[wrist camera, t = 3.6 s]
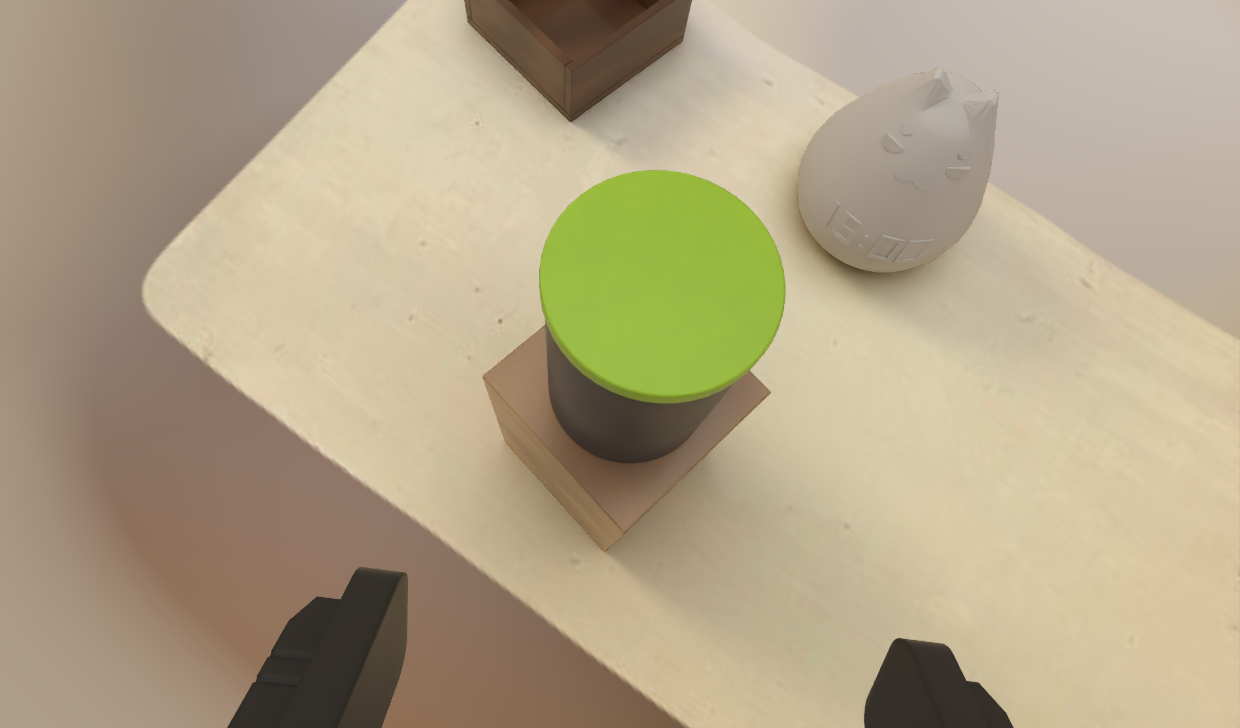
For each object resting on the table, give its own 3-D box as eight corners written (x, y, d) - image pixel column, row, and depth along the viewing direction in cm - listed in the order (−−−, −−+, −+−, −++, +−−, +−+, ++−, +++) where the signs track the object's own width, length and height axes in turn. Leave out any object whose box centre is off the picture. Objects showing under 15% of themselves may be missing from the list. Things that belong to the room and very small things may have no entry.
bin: (467, 21, 47) (457, -37, 43) (581, -52, 50) (583, -114, 45) (570, 122, 45) (571, 71, 41) (683, 40, 48) (695, -15, 43)
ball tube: (511, 378, 27) (486, 265, 18) (631, 277, 29) (666, 127, 20) (625, 501, 26) (662, 450, 17) (743, 390, 28) (836, 287, 19)
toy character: (758, 247, 43) (829, 125, 32) (815, 120, 47) (897, -33, 35) (915, 317, 43) (1044, 218, 31) (961, 183, 46) (1093, 49, 35)
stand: (504, 440, 38) (481, 376, 27) (611, 348, 41) (632, 253, 29) (604, 552, 37) (624, 533, 26) (710, 450, 39) (772, 391, 28)
